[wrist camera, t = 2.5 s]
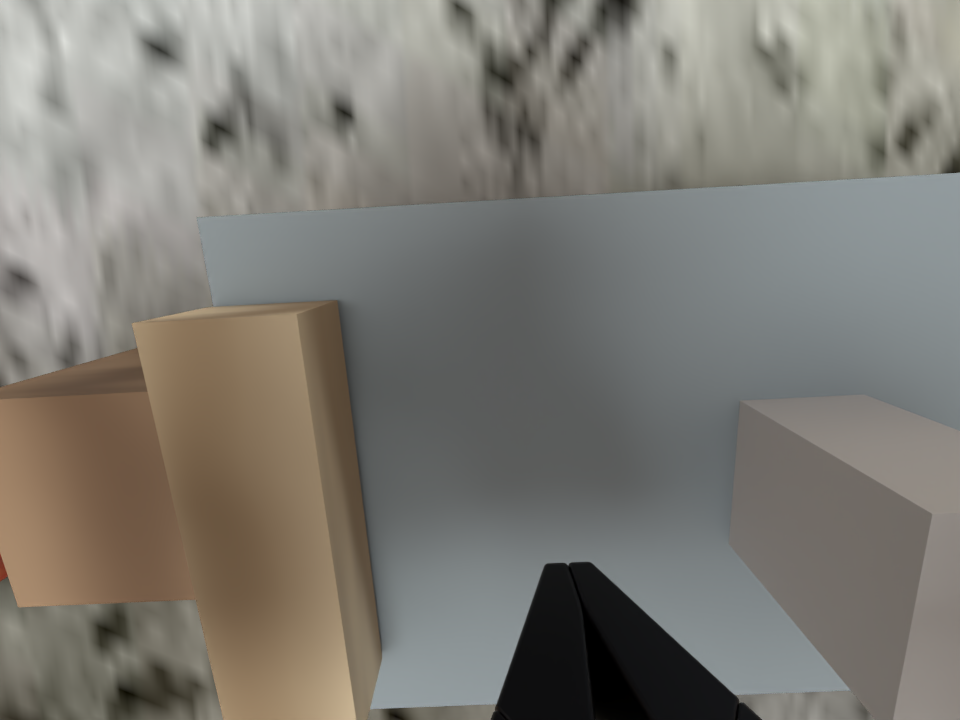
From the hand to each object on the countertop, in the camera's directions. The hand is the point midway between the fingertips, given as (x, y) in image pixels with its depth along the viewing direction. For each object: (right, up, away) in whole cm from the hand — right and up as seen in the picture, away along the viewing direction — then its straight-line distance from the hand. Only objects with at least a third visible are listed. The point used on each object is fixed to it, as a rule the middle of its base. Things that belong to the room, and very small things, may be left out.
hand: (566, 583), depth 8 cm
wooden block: (-6, +1, +3) cm, 7 cm away
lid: (+2, +1, +4) cm, 5 cm away
